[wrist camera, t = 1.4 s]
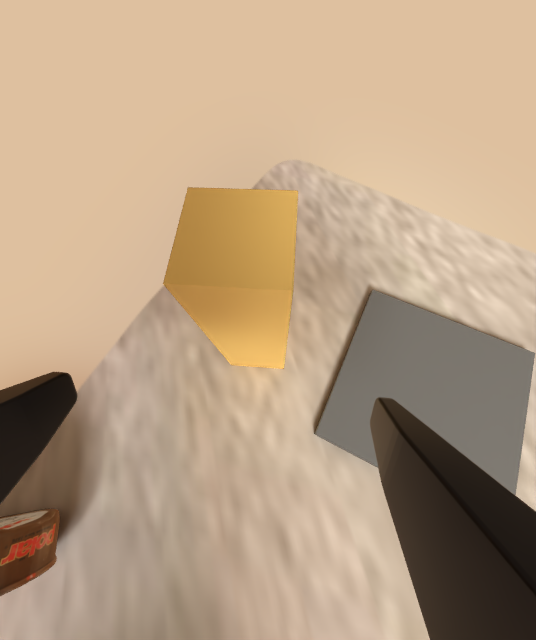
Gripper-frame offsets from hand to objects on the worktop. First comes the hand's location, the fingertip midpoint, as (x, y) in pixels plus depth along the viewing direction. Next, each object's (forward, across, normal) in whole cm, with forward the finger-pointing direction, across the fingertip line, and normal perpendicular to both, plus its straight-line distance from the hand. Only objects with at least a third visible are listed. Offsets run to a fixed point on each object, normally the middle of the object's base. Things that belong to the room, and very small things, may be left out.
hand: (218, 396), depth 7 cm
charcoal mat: (+10, -12, +7) cm, 17 cm away
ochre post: (+12, 0, +5) cm, 13 cm away
